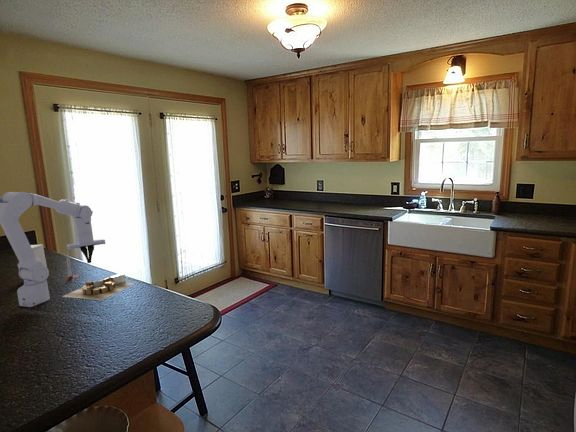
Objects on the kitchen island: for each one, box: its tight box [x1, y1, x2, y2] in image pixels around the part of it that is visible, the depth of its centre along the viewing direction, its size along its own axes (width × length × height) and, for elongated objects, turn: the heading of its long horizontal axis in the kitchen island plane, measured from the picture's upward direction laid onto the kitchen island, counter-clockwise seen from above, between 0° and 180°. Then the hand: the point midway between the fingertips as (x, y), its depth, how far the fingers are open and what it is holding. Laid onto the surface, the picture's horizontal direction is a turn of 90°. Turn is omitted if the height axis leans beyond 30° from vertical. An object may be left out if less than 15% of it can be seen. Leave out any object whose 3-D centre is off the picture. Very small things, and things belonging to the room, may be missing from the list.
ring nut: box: [81, 272, 127, 295], centre depth 150 cm, size 12×16×4 cm
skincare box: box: [30, 243, 48, 268], centre depth 170 cm, size 8×7×16 cm
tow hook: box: [65, 253, 79, 282], centre depth 166 cm, size 8×13×9 cm
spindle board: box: [62, 279, 135, 301], centre depth 148 cm, size 18×20×5 cm
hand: (89, 262), depth 157 cm, fingers closed
